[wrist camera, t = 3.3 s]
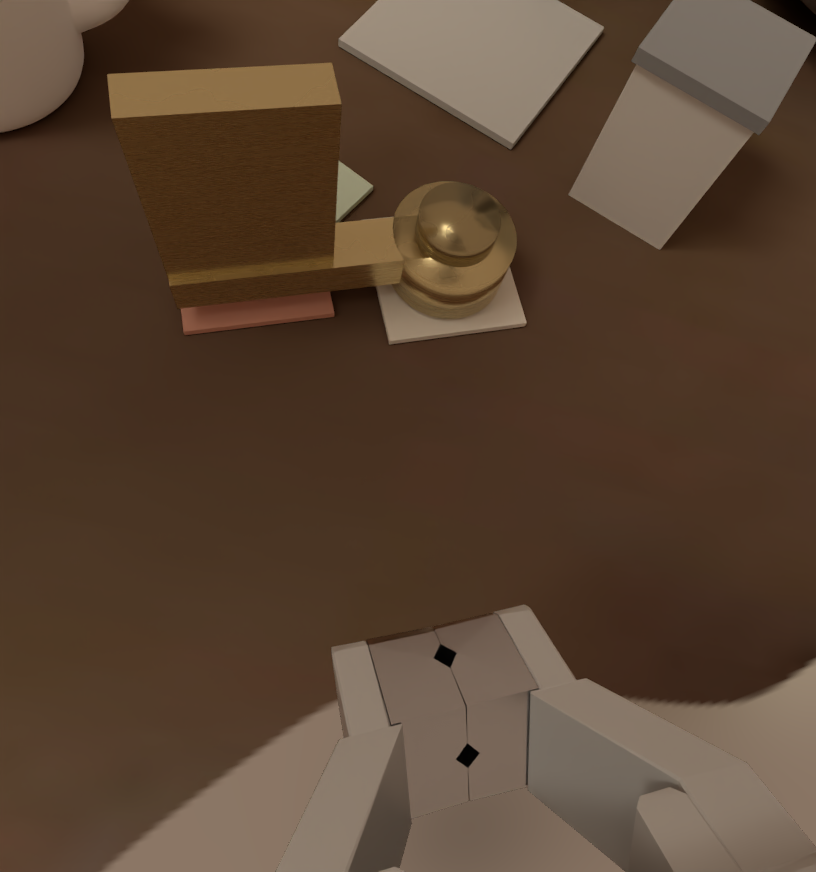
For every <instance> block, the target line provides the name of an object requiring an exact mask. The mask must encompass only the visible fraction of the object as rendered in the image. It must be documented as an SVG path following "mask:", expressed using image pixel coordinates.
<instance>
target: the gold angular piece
mask: <svg viewBox="0 0 816 872" xmlns="http://www.w3.org/2000/svg"><path fill="white" fill-rule="evenodd" d="M107 78H108V88H109V99H110V109H111V119H112V121H113V124H114V127H115V130H116V133H117V135H118V138H119V141H120V144H121V147H122V150H123V152H124V155H125V158H126V161H127V164H128V166H129V169H130V172H131V175H132V178H133V181H134V183H135V186H136V189H137V192H138V195H139V198H140V200H141V203H142V206H143V209H144V212H145V214H146V217H147V220H148V223H149V226H150V229H151V231H152V234H153V237H154V240H155V243H156V245H157V248H158V251H159V254H160V257H161V260H162V262H163V265H164V268H165V271H166V274H167V276H168V279H169V286H170V289H171V292H172V294H173V297H174V300H175V303H176V306H177V308H178V309H182V308H191V307H200V306H208V305H217V304H225V303H234V302H242V301H251V300H260V299H268V298H277V297H285V296H294V295H303V294H311V293H320V292H328V291H337V290H346V289H354V288H363V287H371V286H380V285H388V284H391V285H392V287H393V288H394V290H395V291H396V293H397V294H398V295H399V296H400V298H401V299H402V300H403V301H405V302H406V303H407V304H408V305H409V306H411V307H412V308H414V309H416V310H417V311H419V312H421V313H424V314H426V315H429V316H432V317H436V318H442V319H457V318H463V317H467V316H470V315H473V314H475V313H477V312H479V311H481V310H482V309H484V308H485V307H486V306H487V305H488V304H489V303H490V302H491V301H492V300H493V299H494V297H495V295H496V294H497V292H498V290H499V287H500V285H501V283H502V281H503V279H504V277H505V275H506V273H507V270H508V268H509V266H510V264H511V262H512V260H513V257H514V255H515V251H516V247H517V235H516V230H515V226H514V223H513V221H512V219H511V217H510V215H509V213H508V212H507V211H506V209H505V208H504V207H503V206H502V205H501V203H500V202H499V201H497V200H496V199H495V198H494V197H493V196H491V195H490V194H488V193H487V192H485V191H483V190H481V189H479V188H477V187H475V186H473V185H469V184H466V183H461V182H453V181H440V182H434V183H430V184H426V185H424V186H421V187H419V188H417V189H415V190H414V191H412V192H411V193H410V194H408V195H407V196H406V197H405V198H404V199H403V200H402V202H401V203H400V204H399V206H398V208H397V210H396V212H395V215H394V217H391V218H381V219H370V220H360V221H350V222H339V223H336V204H337V184H338V164H339V144H340V124H341V100H340V95H339V91H338V87H337V83H336V78H335V74H334V70H333V66H332V63H316V64H296V65H276V66H256V67H237V68H217V69H197V70H177V71H157V72H137V73H118V74H107Z"/></svg>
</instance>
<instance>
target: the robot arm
mask: <svg viewBox="0 0 816 872" xmlns="http://www.w3.org/2000/svg"><path fill="white" fill-rule="evenodd" d="M331 654H332V662H333V669H334V676H335V683H336V690H337V697H338V705H339V711H340V717H341V724H342V730H343V736H344V738H343V739H339V740H338V742H337V744H336V746H335V748H334V751H333V753H332V755H331V757H330V759H329V761H328V763H327V765H326V767H325V769H324V771H323V773H322V775H321V778H320V780H319V782H318V784H317V786H316V788H315V790H314V792H313V795H312V797H311V798H310V801H309V803H308V805H307V807H306V809H305V811H304V813H303V815H302V817H301V820H300V822H299V824H298V826H297V828H296V830H295V832H294V834H293V836H292V838H291V840H290V842H289V844H288V847H287V849H286V851H285V853H284V855H283V857H282V859H281V861H280V863H279V865H278V867H277V869H276V871H275V872H405V871H403V870H401V869H399V868H400V864H401V860H402V856H403V853H404V849H405V846H406V842H407V838H408V834H409V830H410V827H411V819H413V818H416V817H420V816H423V815H426V814H430V813H433V812H436V811H439V810H443V809H446V808H449V807H452V806H456V805H459V804H462V803H465V802H468V801H473V800H477V799H480V798H485V797H489V796H493V795H497V794H501V793H505V792H509V791H513V790H517V789H522V788H526V787H528V791H530V793H532V794H533V795H534V796H535V797H537V798H538V799H539V800H540V801H541V802H542V803H544V804H545V805H546V806H547V807H548V808H550V809H551V810H552V811H553V812H555V813H556V814H557V815H558V816H559V817H560V818H562V819H563V820H564V821H565V822H566V823H568V824H569V825H570V826H571V827H573V828H574V829H575V830H576V831H577V832H578V833H580V834H581V835H582V836H583V837H585V838H586V839H587V840H588V841H589V842H590V843H592V844H593V845H594V846H595V847H596V848H598V849H599V850H600V851H601V852H602V853H604V854H605V855H606V856H607V857H609V858H610V859H611V860H612V861H614V862H615V863H616V864H617V865H618V866H619V867H621V868H622V869H623V870H624V871H625V872H816V847H815V845H814V844H813V843H812V842H811V841H810V839H809V838H808V837H807V836H806V835H805V833H804V832H803V831H802V830H801V828H800V827H799V826H798V825H797V823H796V822H795V821H794V820H793V819H792V817H791V816H790V815H789V814H788V812H787V811H786V810H785V809H784V808H783V806H782V805H781V804H780V803H779V801H778V800H777V799H776V798H775V796H774V795H773V794H772V793H771V792H770V790H769V789H768V788H767V787H766V785H765V784H764V783H763V782H762V781H761V780H760V778H759V777H758V776H757V774H756V773H755V772H754V771H753V770H752V768H751V767H750V766H749V765H748V763H747V762H745V761H742V760H741V759H739V758H737V757H735V756H733V755H731V754H729V753H728V752H726V751H724V750H722V749H720V748H718V747H716V746H714V745H712V744H710V743H709V742H707V741H705V740H703V739H701V738H699V737H697V736H695V735H693V734H691V733H690V732H688V731H686V730H684V729H682V728H680V727H678V726H676V725H674V724H672V723H671V722H669V721H667V720H665V719H663V718H661V717H659V716H657V715H655V714H654V713H652V712H650V711H648V710H646V709H644V708H642V707H640V706H638V705H636V704H635V703H633V702H631V701H629V700H627V699H625V698H623V697H621V696H619V695H617V694H616V693H614V692H612V691H610V690H608V689H606V688H604V687H602V686H600V685H598V684H597V683H595V682H593V681H591V680H589V679H587V678H585V679H580V680H576V678H575V677H574V675H573V673H572V672H571V670H570V669H569V667H568V666H567V664H566V663H565V661H564V660H563V658H562V656H561V655H560V653H559V652H558V650H557V649H556V647H555V646H554V644H553V642H552V641H551V639H550V638H549V636H548V635H547V633H546V632H545V630H544V628H543V627H542V625H541V624H540V622H539V621H538V619H537V618H536V616H535V614H534V613H533V611H532V610H531V608H530V607H528V606H526V605H525V604H524V605H520V606H516V607H512V608H508V609H503V610H499V611H495V612H494V613H488V614H484V615H479V616H475V617H471V618H466V619H462V620H458V621H453V622H449V623H445V624H440V625H436V626H432V627H428V628H423V629H418V630H412V631H407V632H402V633H397V634H392V635H387V636H382V637H377V638H372V639H367V640H366V642H365V641H360V642H355V643H350V644H345V645H340V646H334V647H331Z"/></svg>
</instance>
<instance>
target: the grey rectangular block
mask: <svg viewBox="0 0 816 872" xmlns="http://www.w3.org/2000/svg"><path fill="white" fill-rule="evenodd" d="M815 42H816V37H815V36H813V35H811V34H809V33H808V32H806V31H804V30H802V29H800V28H799V27H797V26H795V25H793V24H791V23H790V22H788V21H786V20H784V19H783V18H781V17H779V16H777V15H775V14H774V13H772V12H770V11H768V10H766V9H765V8H763V7H761V6H759V5H758V4H756V3H754V2H752V1H750V0H673V1H672V2H671V4H670V5H669V6H668V8H667V9H666V10H665V12H664V13H663V15H662V16H661V17H660V19H659V20H658V21H657V23H656V24H655V25H654V27H653V28H652V29H651V31H650V32H649V34H648V35H647V36H646V38H645V39H644V40H643V42H642V43H641V44H640V46H639V47H638V49H637V51H636V53H635V55H634V57H633V59H632V62H633V63H635V64H636V66H635V68H634V70H633V72H632V74H631V76H630V78H629V79H628V81H627V83H626V85H625V87H624V89H623V91H622V93H621V95H620V97H619V99H618V101H617V102H616V104H615V106H614V108H613V110H612V112H611V114H610V116H609V118H608V120H607V122H606V124H605V125H604V127H603V129H602V131H601V133H600V135H599V137H598V139H597V141H596V143H595V145H594V147H593V148H592V150H591V152H590V154H589V156H588V158H587V160H586V162H585V164H584V166H583V168H582V170H581V171H580V173H579V175H578V177H577V179H576V181H575V183H574V185H573V187H572V189H571V191H570V193H569V194H568V195H569V196H571V197H572V198H574V199H576V200H577V201H579V202H581V203H582V204H584V205H586V206H587V207H589V208H591V209H592V210H594V211H596V212H597V213H599V214H601V215H602V216H604V217H606V218H607V219H609V220H611V221H612V222H614V223H616V224H617V225H619V226H621V227H622V228H624V229H626V230H627V231H629V232H630V233H632V234H634V235H635V236H637V237H639V238H640V239H642V240H644V241H645V242H647V243H649V244H650V245H652V246H654V247H655V248H657V249H659V250H660V249H661V248H662V247H663V245H664V244H665V243H666V242H667V240H668V239H669V238H670V237H671V235H672V234H673V233H674V232H675V230H676V229H677V228H678V227H679V225H680V224H681V223H682V222H683V220H684V219H685V218H686V217H687V215H688V214H689V213H690V212H691V210H692V209H693V208H694V207H695V205H696V204H697V203H698V202H699V200H700V199H701V198H702V197H703V195H704V194H705V193H706V192H707V190H708V189H709V188H710V187H711V185H712V184H713V183H714V181H715V180H716V179H717V178H718V176H719V175H720V174H721V173H722V171H723V170H724V169H725V168H726V166H727V165H728V164H729V163H730V161H731V160H732V159H733V158H734V156H735V155H736V154H737V153H738V151H739V150H740V149H741V148H742V146H743V145H744V144H745V143H746V141H747V140H748V139H749V138H750V136H751V135H752V134H753V133H756V134H758V135H760V134H761V132H762V131H763V130H764V129H765V127H766V126H767V125H768V124H769V122H770V121H771V119H772V117H773V115H774V114H775V112H776V110H777V108H778V107H779V105H780V103H781V101H782V100H783V98H784V96H785V95H786V93H787V91H788V89H789V88H790V86H791V84H792V82H793V81H794V79H795V77H796V75H797V74H798V72H799V70H800V68H801V67H802V65H803V63H804V61H805V60H806V58H807V56H808V54H809V53H810V51H811V49H812V47H813V46H814V44H815Z"/></svg>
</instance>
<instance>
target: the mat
mask: <svg viewBox="0 0 816 872" xmlns="http://www.w3.org/2000/svg"><path fill="white" fill-rule="evenodd" d="M603 29H604V27H603V26H601V25H600V24H598V23H596V22H594V21H593V20H591V19H589V18H587V17H586V16H584V15H582V14H580V13H579V12H577V11H575V10H574V9H572V8H570V7H568V6H567V5H565V4H563V3H561V2H560V1H558V0H378V1H377V2H376V3H375V4H374V5H373V6H372V7H371V8H370V9H369V10H368V11H367V12H366V13H365V14H364V15H363V16H362V17H361V18H360V19H359V20H357V21H356V22H355V23H354V24H353V25H352V26H351V27H350V28H349V29H348V30H347V31H346V32H345V33H344V34H343V35H342V36H341V37H340V38H339V43H338V46H339V47H341V48H342V49H344V50H346V51H347V52H349V53H351V54H352V55H354V56H356V57H357V58H359V59H361V60H362V61H364V62H366V63H367V64H369V65H371V66H372V67H374V68H376V69H377V70H379V71H381V72H382V73H384V74H386V75H387V76H389V77H391V78H392V79H394V80H396V81H397V82H399V83H401V84H402V85H404V86H406V87H407V88H409V89H411V90H412V91H414V92H416V93H417V94H419V95H420V96H422V97H424V98H425V99H427V100H429V101H430V102H432V103H434V104H435V105H437V106H439V107H440V108H442V109H444V110H445V111H447V112H449V113H450V114H452V115H454V116H455V117H457V118H459V119H460V120H462V121H464V122H465V123H467V124H469V125H470V126H472V127H474V128H475V129H477V130H479V131H480V132H482V133H484V134H485V135H487V136H489V137H490V138H492V139H494V140H495V141H497V142H499V143H500V144H502V145H504V146H505V147H507V148H509V149H510V150H511V149H512V148H513V147H514V145H515V144H516V143H517V141H518V140H519V139H520V138H521V136H522V135H523V134H524V132H525V131H526V130H527V129H528V127H529V126H530V125H531V124H532V122H533V121H534V120H535V118H536V117H537V116H538V115H539V113H540V112H541V111H542V109H543V108H544V107H545V106H546V104H547V103H548V102H549V100H550V99H551V98H552V97H553V95H554V94H555V93H556V92H557V90H558V89H559V88H560V86H561V85H562V84H563V83H564V81H565V80H566V79H567V77H568V76H569V75H570V74H571V72H572V71H573V70H574V68H575V67H576V66H577V65H578V63H579V62H580V61H581V59H582V58H583V57H584V56H585V54H586V53H587V52H588V51H589V49H590V48H591V47H592V45H593V44H594V43H595V42H596V40H597V39H598V38H599V36H600V35H601V34H602V31H603Z"/></svg>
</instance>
